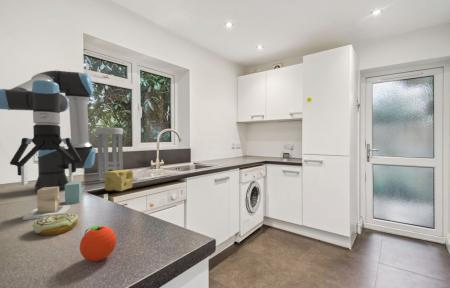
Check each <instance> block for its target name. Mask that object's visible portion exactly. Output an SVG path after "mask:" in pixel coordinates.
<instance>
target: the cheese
mask: <svg viewBox="0 0 450 288" xmlns="http://www.w3.org/2000/svg"><path fill="white" fill-rule="evenodd" d="M133 171H134V170H133V169H123V170H118V169H117V170H115V171H112V170H109V172H105V183H104V190H105V191H109V192H112V191H115V192H123V191H126V190H129V189H132V188H133V183H134V172H133Z"/></svg>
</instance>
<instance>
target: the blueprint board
mask: <svg viewBox="0 0 450 288" xmlns="http://www.w3.org/2000/svg"><path fill="white" fill-rule="evenodd" d="M71 205H72V204H63V205H59V208H58V209H57V210H56V211H54V212H45V213H38V207H37V208H34V209H33V210H31V211H30V212H29V213H27V214H26V215H24V216H23V217H22V221H27V220H36V219H37V220H38V219H41V218H43V217H46V216H50V215H55V214H60V213H68V211H69V210H70V208H71Z"/></svg>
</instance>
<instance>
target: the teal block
mask: <svg viewBox="0 0 450 288" xmlns="http://www.w3.org/2000/svg"><path fill="white" fill-rule="evenodd" d="M82 200H83V198H82V181H79V182H78V181H76V182H69V183H67V184H66V185H65V189H64V205H72V204H79V203H81V201H82Z"/></svg>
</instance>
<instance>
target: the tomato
mask: <svg viewBox="0 0 450 288" xmlns="http://www.w3.org/2000/svg"><path fill="white" fill-rule="evenodd" d="M116 245H117V235H116V234H115V231H114V230H112V229H111V228H110V227H108V226H105V225H101V226H98V225H95V226H91V227H88V228H87V229H85V231H84V235H83V236H82V237H81V241H80V242H79V252H80V254H81V256H82V257H83V258H84V259H85V260H87V261H90V262H98V261H101V260H105V259H106V258H108V257H109V256H110V255H111V254H112V253H113V251H114V250H115V247H116Z"/></svg>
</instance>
